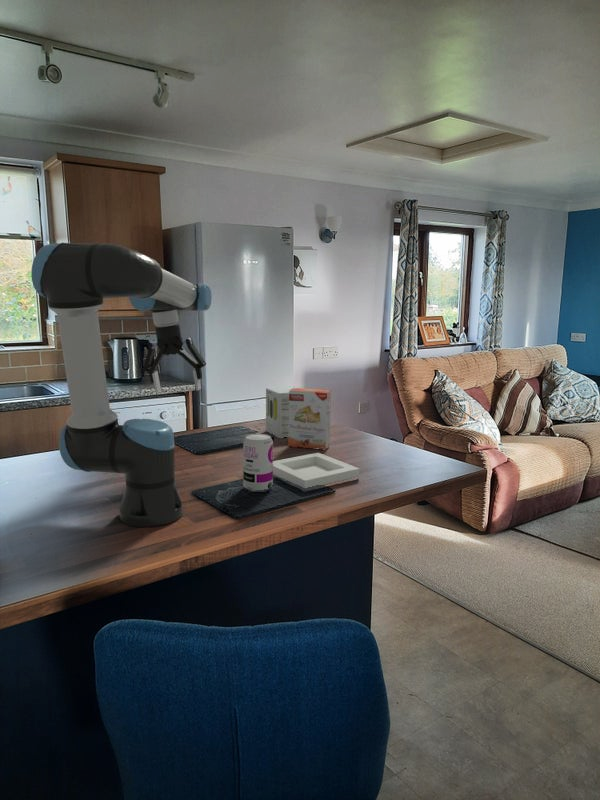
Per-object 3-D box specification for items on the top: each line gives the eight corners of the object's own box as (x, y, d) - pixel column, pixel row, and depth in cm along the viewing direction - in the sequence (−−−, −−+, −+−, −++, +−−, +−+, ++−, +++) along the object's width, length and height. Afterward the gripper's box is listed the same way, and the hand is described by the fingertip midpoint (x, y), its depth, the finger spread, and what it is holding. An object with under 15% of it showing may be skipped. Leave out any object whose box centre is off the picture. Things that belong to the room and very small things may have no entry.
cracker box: (287, 447, 203) (288, 389, 199) (292, 443, 208) (293, 387, 204) (325, 451, 199) (327, 392, 195) (329, 446, 204) (331, 389, 200)
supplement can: (274, 484, 164) (274, 433, 161) (270, 494, 156) (270, 441, 153) (246, 483, 165) (246, 432, 162) (241, 492, 156) (240, 440, 154)
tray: (304, 492, 157) (305, 480, 157) (266, 473, 173) (266, 462, 173) (359, 479, 169) (359, 468, 168) (317, 462, 185) (318, 452, 184)
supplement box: (264, 431, 226) (265, 387, 223) (294, 427, 232) (295, 385, 229) (279, 438, 214) (279, 393, 211) (309, 435, 220) (310, 390, 217)
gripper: (209, 319, 177) (219, 385, 182) (134, 326, 181) (146, 390, 187) (201, 322, 170) (212, 391, 175) (124, 330, 174) (137, 396, 180)
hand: (178, 391), depth 181 cm, fingers open, 13 cm apart
